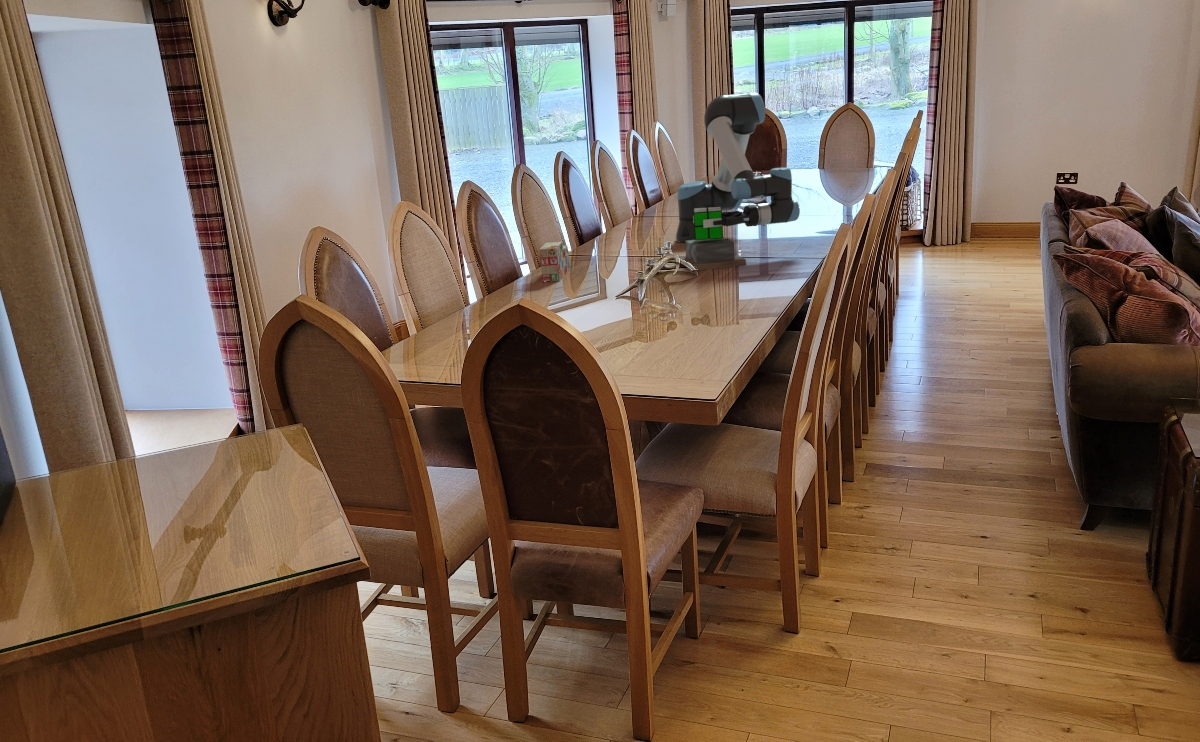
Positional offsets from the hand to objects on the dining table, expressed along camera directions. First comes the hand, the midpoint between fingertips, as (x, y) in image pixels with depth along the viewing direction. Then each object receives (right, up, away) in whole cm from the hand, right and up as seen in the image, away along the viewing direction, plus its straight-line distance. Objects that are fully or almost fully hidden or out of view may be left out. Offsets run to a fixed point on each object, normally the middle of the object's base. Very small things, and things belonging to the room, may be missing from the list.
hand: (698, 221), depth 332 cm
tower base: (+5, -14, +5) cm, 16 cm away
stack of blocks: (-51, -19, +7) cm, 55 cm away
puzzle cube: (+4, -5, +2) cm, 7 cm away
